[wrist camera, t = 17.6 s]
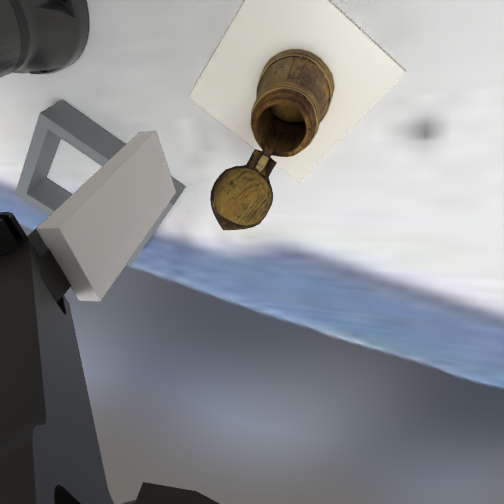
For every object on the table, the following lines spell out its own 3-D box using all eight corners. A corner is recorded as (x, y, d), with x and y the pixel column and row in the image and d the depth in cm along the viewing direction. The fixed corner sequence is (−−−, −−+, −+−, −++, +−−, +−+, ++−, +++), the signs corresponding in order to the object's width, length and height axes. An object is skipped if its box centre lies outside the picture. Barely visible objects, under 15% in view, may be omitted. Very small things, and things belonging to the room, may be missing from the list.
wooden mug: (229, 133, 52) (180, 208, 38) (282, 32, 43) (245, 82, 29) (287, 169, 53) (261, 253, 39) (350, 78, 44) (345, 146, 31)
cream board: (189, 95, 50) (188, 97, 50) (275, -50, 39) (274, -50, 39) (299, 181, 54) (299, 183, 54) (405, 71, 43) (405, 72, 43)
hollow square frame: (35, 178, 64) (14, 194, 60) (62, 99, 54) (39, 112, 51) (142, 247, 69) (130, 266, 65) (185, 186, 59) (173, 204, 55)
